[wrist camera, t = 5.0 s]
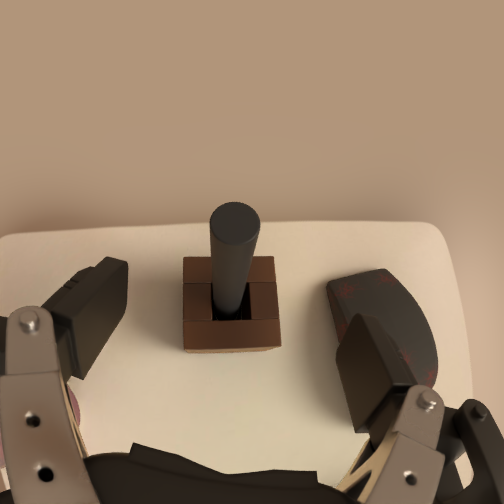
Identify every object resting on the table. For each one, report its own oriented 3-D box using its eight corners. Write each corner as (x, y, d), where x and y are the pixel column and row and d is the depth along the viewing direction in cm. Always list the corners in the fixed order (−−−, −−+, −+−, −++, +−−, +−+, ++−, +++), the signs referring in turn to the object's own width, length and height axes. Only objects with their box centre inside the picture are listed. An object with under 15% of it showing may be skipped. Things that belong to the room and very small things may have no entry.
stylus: (209, 312, 23) (199, 217, 10) (227, 299, 24) (239, 193, 11) (224, 330, 23) (230, 255, 10) (242, 316, 23) (271, 226, 11)
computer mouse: (353, 434, 21) (377, 442, 17) (315, 285, 25) (333, 271, 21) (423, 399, 22) (450, 399, 19) (388, 268, 27) (411, 252, 23)
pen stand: (188, 353, 22) (183, 349, 17) (187, 278, 24) (183, 256, 19) (266, 350, 22) (281, 346, 18) (260, 277, 25) (274, 255, 20)
